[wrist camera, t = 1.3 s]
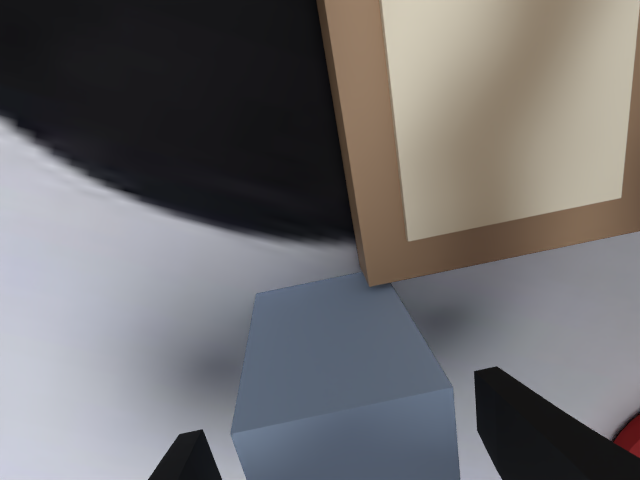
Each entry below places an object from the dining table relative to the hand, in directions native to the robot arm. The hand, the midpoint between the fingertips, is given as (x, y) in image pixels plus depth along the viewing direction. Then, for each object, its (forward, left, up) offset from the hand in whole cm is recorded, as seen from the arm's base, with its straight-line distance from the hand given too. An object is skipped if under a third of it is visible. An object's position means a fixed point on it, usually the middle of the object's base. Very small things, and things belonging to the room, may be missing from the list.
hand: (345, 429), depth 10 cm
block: (0, 0, -4) cm, 4 cm away
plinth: (-6, -7, -4) cm, 10 cm away
